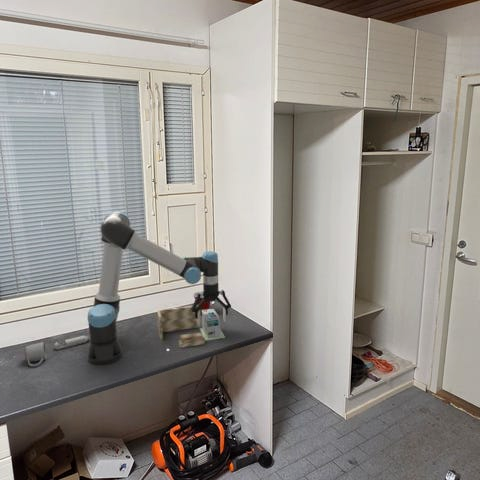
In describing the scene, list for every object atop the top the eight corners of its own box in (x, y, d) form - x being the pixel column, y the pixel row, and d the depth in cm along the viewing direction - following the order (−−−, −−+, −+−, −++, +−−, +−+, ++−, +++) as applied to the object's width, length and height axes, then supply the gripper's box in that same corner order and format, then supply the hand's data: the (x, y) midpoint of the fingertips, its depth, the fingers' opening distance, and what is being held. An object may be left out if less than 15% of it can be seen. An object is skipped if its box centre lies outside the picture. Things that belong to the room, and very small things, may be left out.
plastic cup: (208, 308, 245) (208, 289, 242) (215, 315, 236) (215, 295, 233) (191, 311, 241) (190, 291, 238) (197, 318, 231) (196, 298, 228)
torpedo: (55, 352, 196) (54, 339, 195) (53, 348, 200) (52, 335, 199) (94, 342, 206) (93, 330, 204) (92, 338, 210) (91, 326, 208)
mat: (205, 340, 206) (205, 339, 206) (199, 328, 219) (199, 327, 219) (225, 337, 209) (225, 337, 208) (218, 326, 222) (218, 325, 221)
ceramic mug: (26, 357, 191) (24, 342, 189) (46, 354, 194) (44, 339, 192) (25, 369, 182) (23, 353, 180) (46, 365, 185) (44, 349, 183)
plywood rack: (160, 340, 207) (159, 317, 204) (158, 331, 216) (157, 310, 213) (204, 333, 213) (203, 312, 210) (200, 326, 222) (199, 304, 219)
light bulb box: (220, 336, 210) (219, 316, 207) (207, 338, 207) (206, 318, 205) (214, 327, 219) (213, 308, 217) (201, 329, 217) (201, 309, 215)
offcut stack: (180, 347, 199) (179, 338, 198) (178, 343, 203) (178, 334, 202) (204, 344, 203) (204, 335, 201) (202, 340, 207) (202, 331, 206)
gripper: (187, 287, 200) (188, 328, 205) (237, 282, 207) (237, 322, 212) (184, 282, 207) (185, 322, 212) (232, 277, 214) (233, 316, 219)
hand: (211, 322), depth 212 cm, fingers open, 13 cm apart
